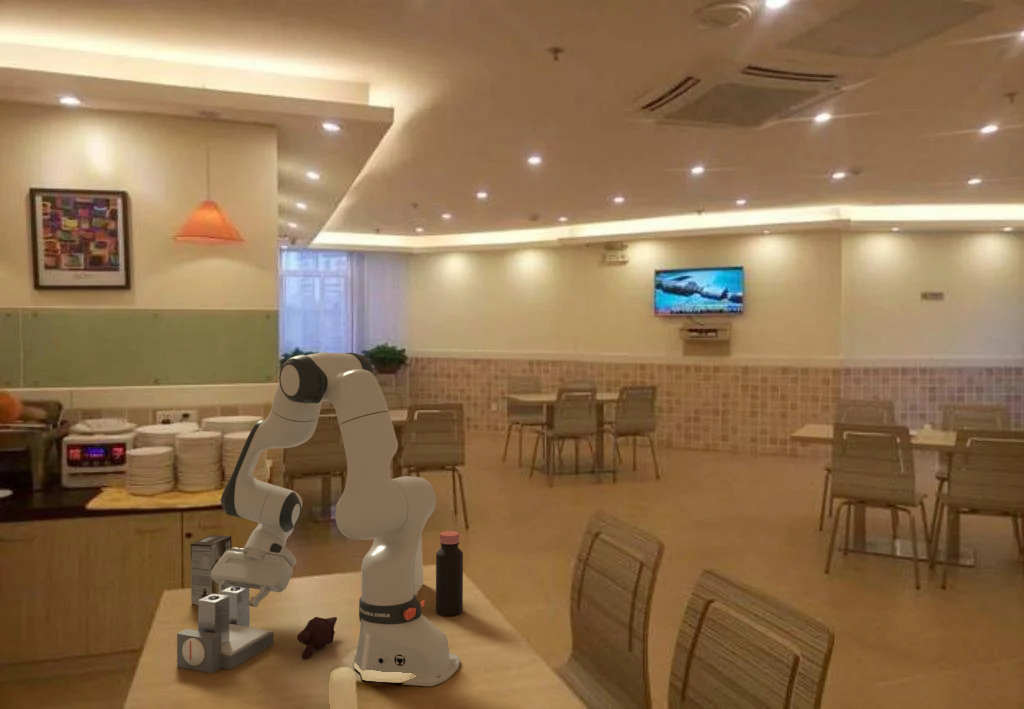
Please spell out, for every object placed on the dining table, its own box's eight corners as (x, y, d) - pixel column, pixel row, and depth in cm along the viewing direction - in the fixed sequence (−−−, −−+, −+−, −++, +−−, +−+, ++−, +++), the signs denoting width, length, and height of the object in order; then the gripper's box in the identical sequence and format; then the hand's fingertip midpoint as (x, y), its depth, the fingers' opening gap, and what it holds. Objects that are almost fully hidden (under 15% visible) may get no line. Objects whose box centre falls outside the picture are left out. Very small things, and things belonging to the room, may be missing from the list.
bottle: (431, 609, 192) (432, 531, 191) (456, 605, 195) (456, 528, 194) (441, 618, 186) (442, 538, 185) (466, 614, 189) (467, 535, 188)
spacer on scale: (229, 641, 163) (229, 595, 163) (215, 649, 159) (215, 602, 159) (213, 638, 164) (212, 593, 164) (198, 646, 160) (198, 599, 160)
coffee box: (211, 593, 203) (211, 534, 203) (232, 595, 202) (232, 535, 201) (190, 605, 194) (190, 543, 194) (212, 607, 193) (212, 544, 192)
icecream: (318, 605, 176) (282, 635, 162) (345, 601, 174) (311, 630, 160) (326, 633, 177) (290, 665, 162) (353, 629, 174) (319, 661, 160)
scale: (273, 643, 170) (273, 613, 170) (219, 676, 153) (219, 642, 153) (223, 635, 174) (223, 605, 174) (165, 665, 158) (165, 633, 158)
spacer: (249, 629, 178) (249, 586, 178) (236, 636, 174) (236, 592, 174) (234, 626, 180) (234, 584, 180) (221, 633, 176) (221, 590, 175)
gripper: (222, 540, 187) (193, 591, 178) (291, 548, 180) (265, 602, 172) (234, 553, 192) (207, 603, 183) (302, 561, 185) (277, 614, 176)
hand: (235, 603), depth 177 cm, fingers open, 8 cm apart
